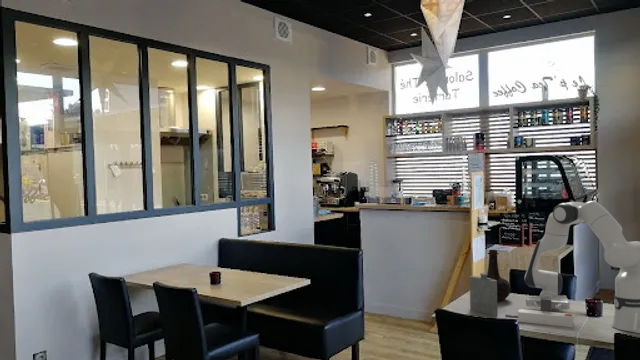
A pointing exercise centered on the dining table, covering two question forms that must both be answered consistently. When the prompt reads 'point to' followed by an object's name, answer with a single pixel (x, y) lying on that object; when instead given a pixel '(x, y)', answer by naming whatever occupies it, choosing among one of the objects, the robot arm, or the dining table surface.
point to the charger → (546, 304)
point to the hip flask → (483, 294)
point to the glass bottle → (497, 276)
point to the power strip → (544, 317)
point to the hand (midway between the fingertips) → (546, 306)
